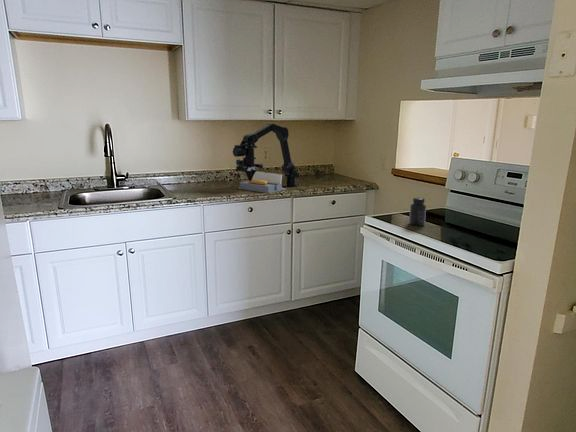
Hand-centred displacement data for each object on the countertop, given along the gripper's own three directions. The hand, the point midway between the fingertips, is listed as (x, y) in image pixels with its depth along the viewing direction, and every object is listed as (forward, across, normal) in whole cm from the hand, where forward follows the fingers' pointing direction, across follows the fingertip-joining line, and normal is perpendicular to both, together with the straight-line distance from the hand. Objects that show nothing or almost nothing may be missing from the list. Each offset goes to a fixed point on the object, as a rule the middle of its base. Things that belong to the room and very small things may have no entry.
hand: (249, 181), depth 263 cm
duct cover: (0, -16, 0) cm, 16 cm away
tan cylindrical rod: (+1, -7, 0) cm, 7 cm away
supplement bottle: (+7, +12, +111) cm, 112 cm away
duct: (+7, -12, 0) cm, 14 cm away
